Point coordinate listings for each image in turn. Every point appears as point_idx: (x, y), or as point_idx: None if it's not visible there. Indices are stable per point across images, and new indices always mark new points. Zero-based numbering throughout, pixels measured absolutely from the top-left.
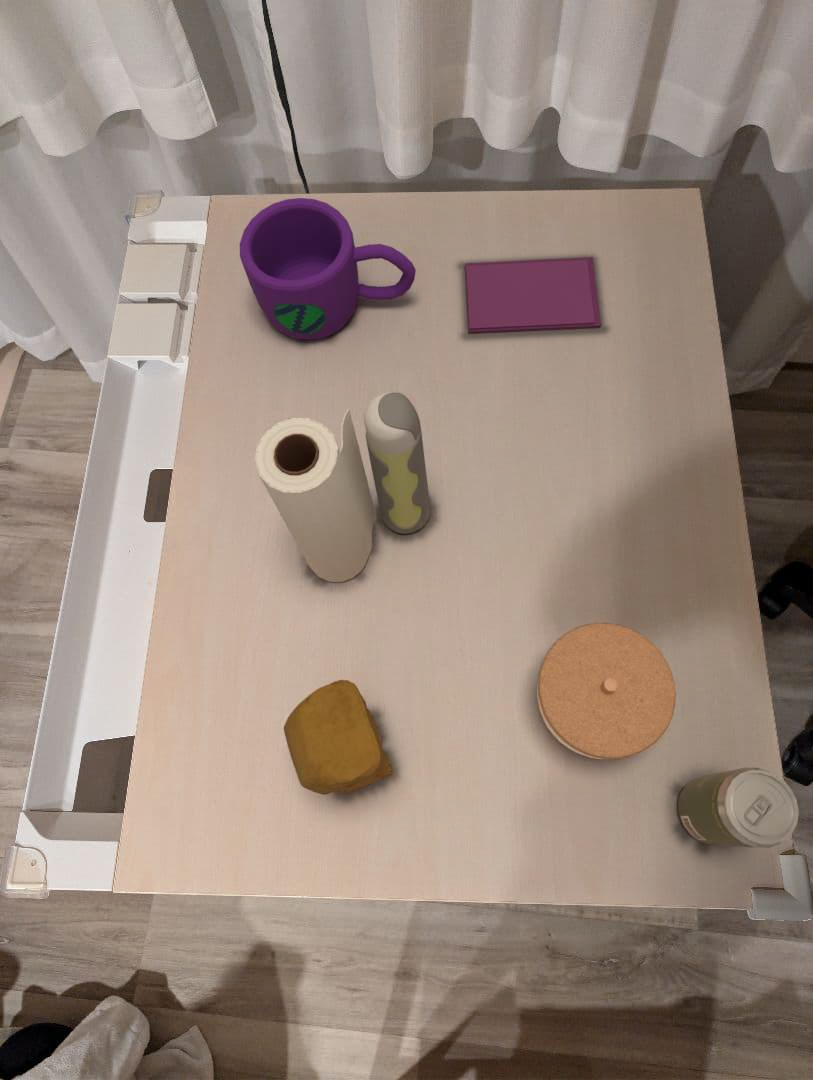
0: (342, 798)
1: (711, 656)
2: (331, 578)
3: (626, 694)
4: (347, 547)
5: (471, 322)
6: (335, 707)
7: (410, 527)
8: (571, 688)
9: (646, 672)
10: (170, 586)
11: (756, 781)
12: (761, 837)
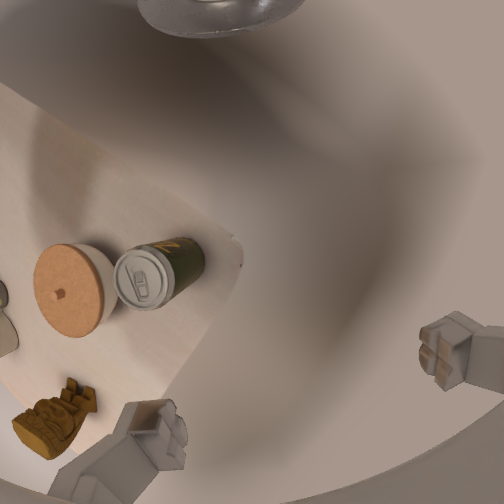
0: (98, 412)
1: (110, 190)
2: (13, 348)
3: (68, 285)
4: None
5: None
6: (20, 433)
7: (1, 301)
8: (56, 312)
9: (63, 263)
10: (13, 394)
11: (122, 270)
12: (159, 296)
